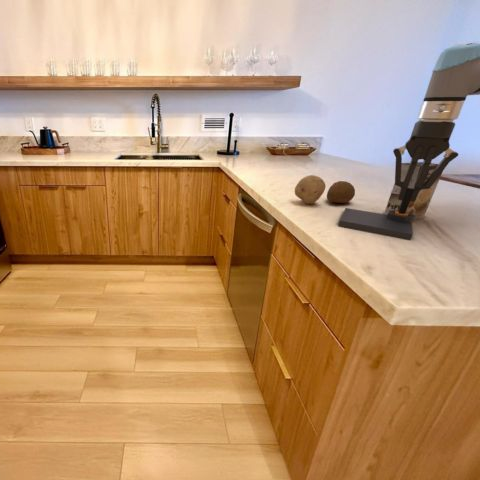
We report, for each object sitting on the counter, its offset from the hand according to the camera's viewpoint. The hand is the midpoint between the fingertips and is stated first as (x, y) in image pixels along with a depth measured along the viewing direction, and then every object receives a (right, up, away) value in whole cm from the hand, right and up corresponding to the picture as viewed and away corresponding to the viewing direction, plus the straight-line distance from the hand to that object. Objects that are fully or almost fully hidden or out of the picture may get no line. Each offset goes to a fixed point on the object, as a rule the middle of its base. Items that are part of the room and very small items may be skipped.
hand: (401, 211), depth 80 cm
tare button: (0, -2, +1) cm, 2 cm away
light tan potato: (-16, +5, +20) cm, 27 cm away
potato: (-4, +5, +21) cm, 22 cm away
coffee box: (+7, -1, +8) cm, 11 cm away
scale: (-7, -4, +1) cm, 8 cm away
